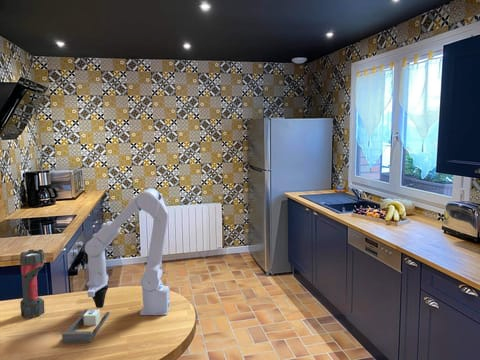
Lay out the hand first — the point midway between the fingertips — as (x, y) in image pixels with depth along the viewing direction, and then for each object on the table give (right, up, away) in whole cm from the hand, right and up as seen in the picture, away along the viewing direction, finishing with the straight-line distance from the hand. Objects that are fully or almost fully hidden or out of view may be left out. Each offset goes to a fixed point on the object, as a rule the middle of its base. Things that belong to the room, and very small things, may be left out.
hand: (99, 307), depth 134 cm
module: (0, -3, -7) cm, 8 cm away
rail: (0, -3, -10) cm, 10 cm away
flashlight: (-22, -2, -1) cm, 22 cm away
